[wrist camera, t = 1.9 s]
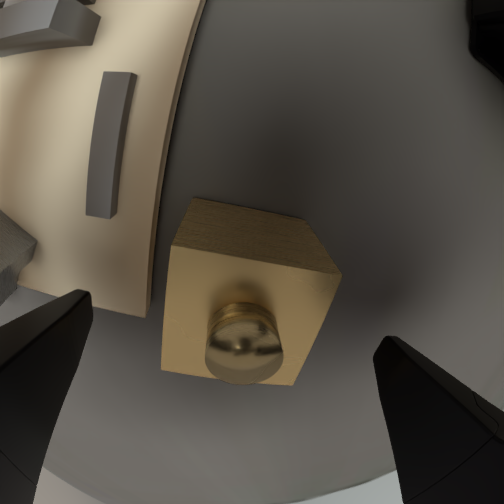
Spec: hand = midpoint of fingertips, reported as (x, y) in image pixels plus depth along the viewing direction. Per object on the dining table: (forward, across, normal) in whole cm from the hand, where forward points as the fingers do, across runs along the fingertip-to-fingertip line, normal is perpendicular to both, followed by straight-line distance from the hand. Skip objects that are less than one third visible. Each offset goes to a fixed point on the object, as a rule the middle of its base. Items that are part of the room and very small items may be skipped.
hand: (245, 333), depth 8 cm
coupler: (+5, 0, 0) cm, 5 cm away
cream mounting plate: (+5, +10, -4) cm, 11 cm away
